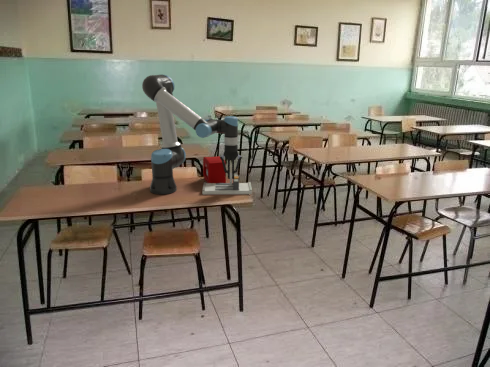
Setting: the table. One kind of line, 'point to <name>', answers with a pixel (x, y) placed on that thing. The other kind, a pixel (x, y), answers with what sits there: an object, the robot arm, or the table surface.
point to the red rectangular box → (214, 170)
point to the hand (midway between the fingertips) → (230, 184)
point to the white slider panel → (227, 188)
